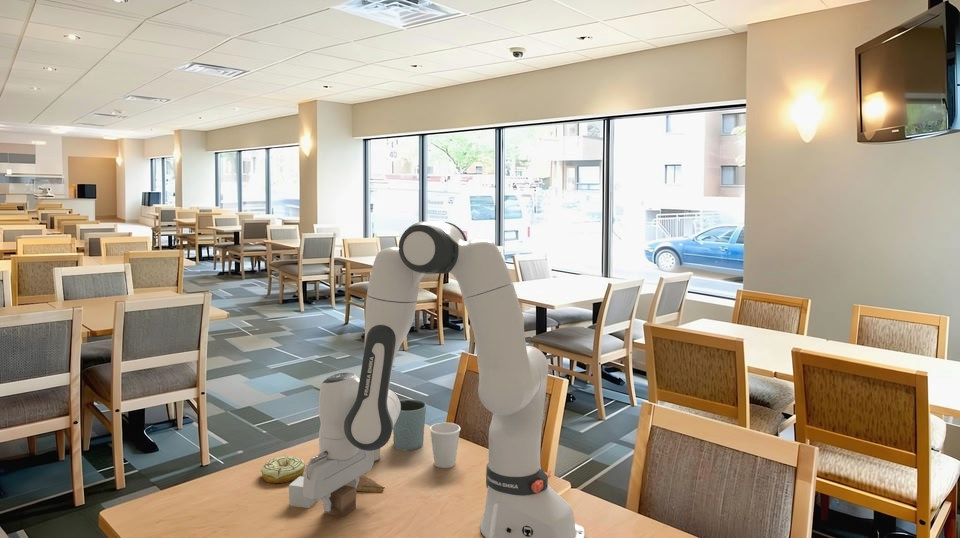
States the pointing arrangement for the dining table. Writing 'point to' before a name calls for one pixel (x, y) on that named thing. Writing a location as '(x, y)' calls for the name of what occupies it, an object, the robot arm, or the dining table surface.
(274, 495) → the dining table surface
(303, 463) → the decorated donut
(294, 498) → the grey cube
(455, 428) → the dixie cup
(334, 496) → the walnut cube
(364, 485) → the shard
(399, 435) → the teal plant pot
